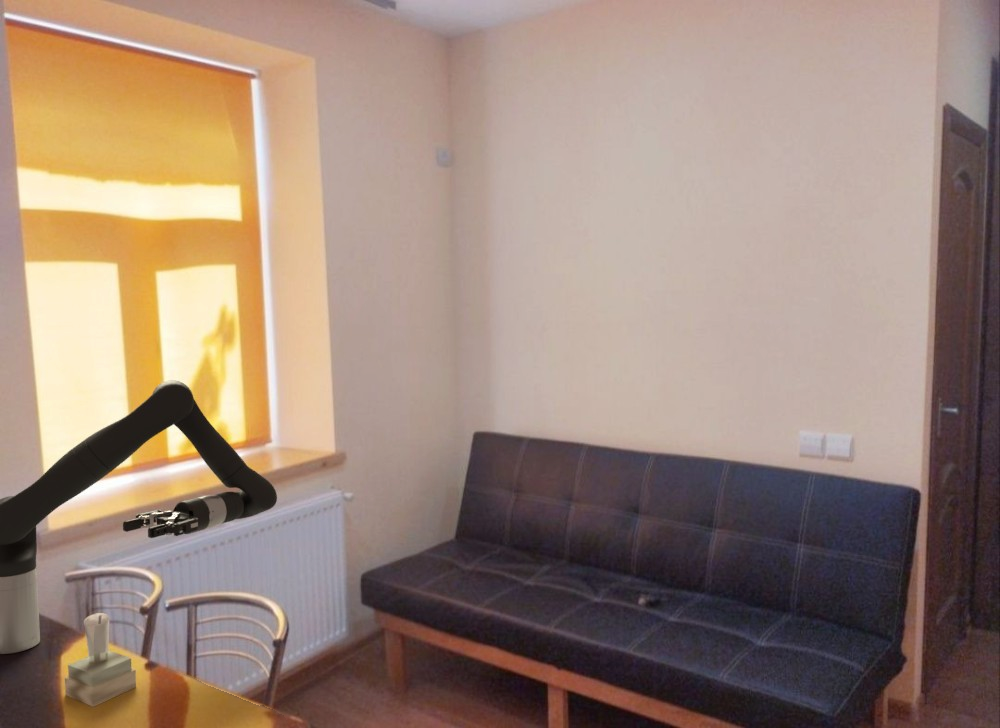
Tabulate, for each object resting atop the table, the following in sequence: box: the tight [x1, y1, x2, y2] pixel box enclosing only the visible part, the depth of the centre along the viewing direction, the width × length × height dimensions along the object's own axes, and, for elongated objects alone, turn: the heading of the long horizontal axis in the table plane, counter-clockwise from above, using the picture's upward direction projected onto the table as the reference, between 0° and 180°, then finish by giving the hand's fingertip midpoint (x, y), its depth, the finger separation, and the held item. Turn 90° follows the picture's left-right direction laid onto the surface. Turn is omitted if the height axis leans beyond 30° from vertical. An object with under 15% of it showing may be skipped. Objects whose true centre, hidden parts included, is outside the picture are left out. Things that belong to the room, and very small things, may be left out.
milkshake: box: [83, 612, 110, 663], centre depth 155 cm, size 4×5×10 cm
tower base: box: [64, 649, 137, 708], centre depth 156 cm, size 9×9×6 cm
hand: (136, 530), depth 167 cm, fingers open, 8 cm apart
